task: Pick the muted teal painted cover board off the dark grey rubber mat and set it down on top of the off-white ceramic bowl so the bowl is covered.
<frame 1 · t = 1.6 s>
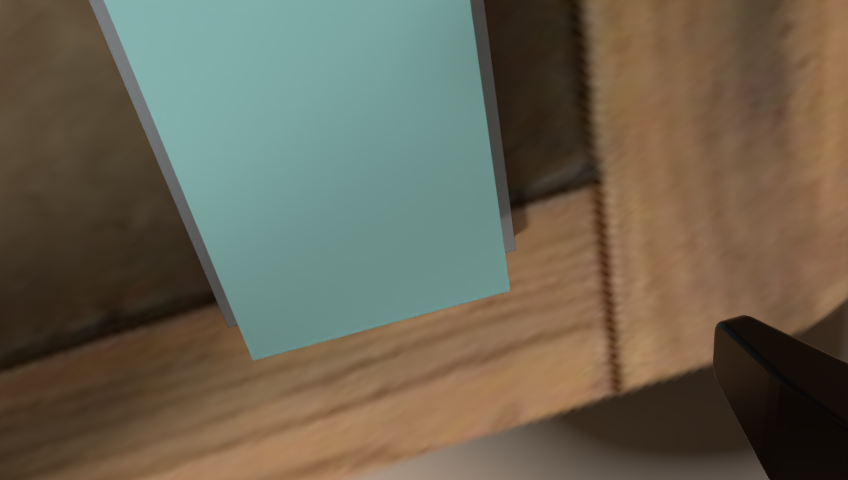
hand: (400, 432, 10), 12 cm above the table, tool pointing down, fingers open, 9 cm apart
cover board: (325, 109, 20), point 1 cm above the table, touching mat
mat: (323, 100, 20), on the table
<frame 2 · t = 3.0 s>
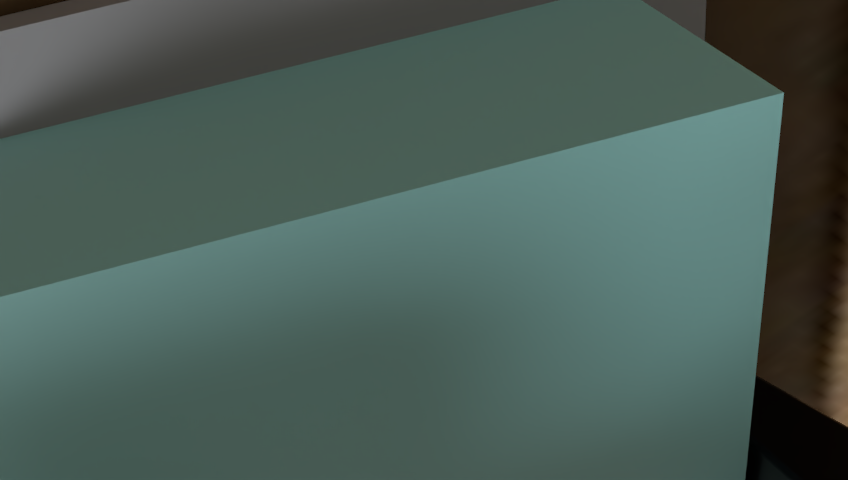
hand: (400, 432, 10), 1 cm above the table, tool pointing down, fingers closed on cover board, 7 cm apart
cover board: (392, 398, 11), point 1 cm above the table, touching gripper, mat
mat: (386, 369, 11), on the table
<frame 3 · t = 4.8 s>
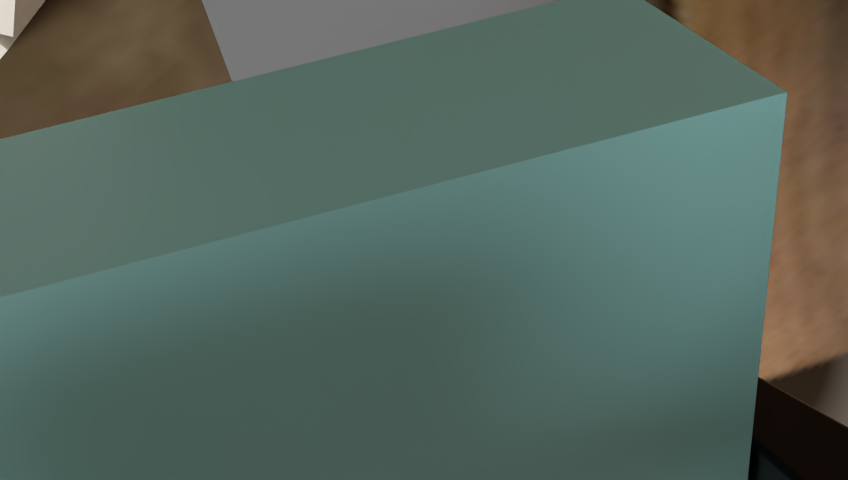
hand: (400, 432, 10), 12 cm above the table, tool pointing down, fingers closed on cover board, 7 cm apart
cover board: (395, 398, 11), point 11 cm above the table, touching gripper
mat: (430, 137, 21), on the table
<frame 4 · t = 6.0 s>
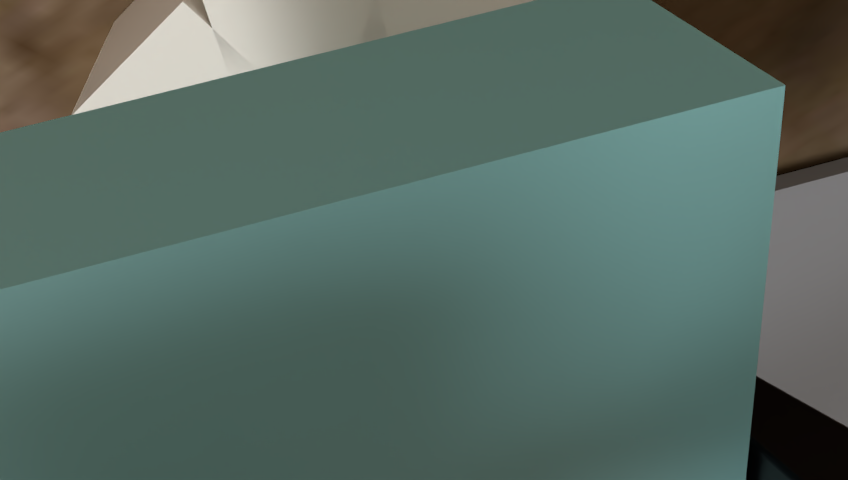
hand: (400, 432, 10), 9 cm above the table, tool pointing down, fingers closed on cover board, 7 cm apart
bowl: (338, 144, 17), on the table
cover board: (392, 396, 11), point 8 cm above the table, touching gripper
mat: (762, 340, 23), on the table
when the fingers open (6 cm above the table, at t = 6.9 s): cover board drops 1 cm, resting on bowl.
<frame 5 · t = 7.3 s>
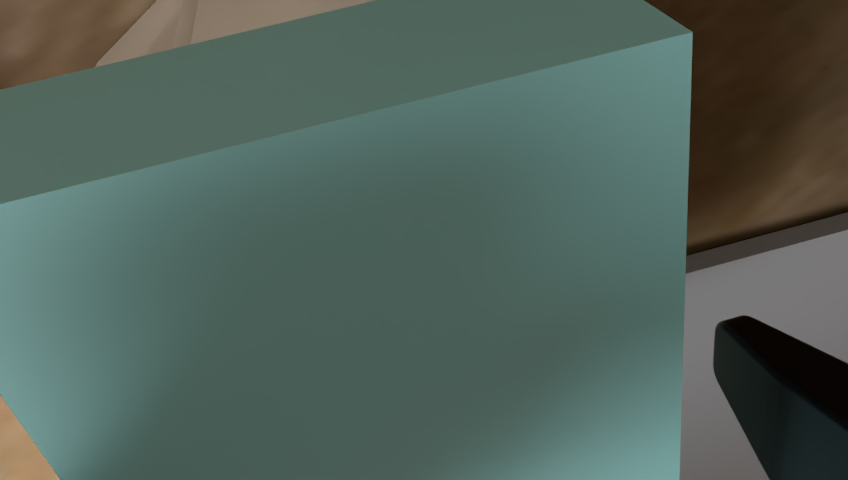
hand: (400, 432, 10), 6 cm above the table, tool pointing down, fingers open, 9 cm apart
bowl: (347, 192, 15), on the table
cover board: (375, 335, 12), point 4 cm above the table, touching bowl
mat: (801, 389, 22), on the table
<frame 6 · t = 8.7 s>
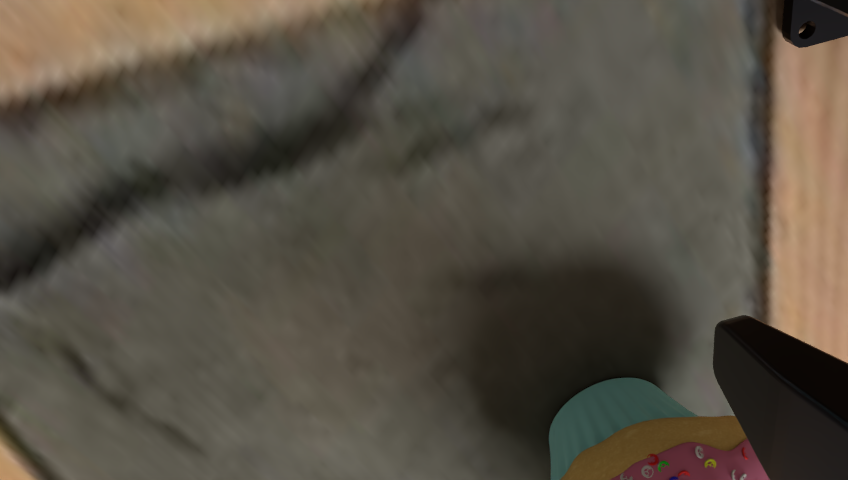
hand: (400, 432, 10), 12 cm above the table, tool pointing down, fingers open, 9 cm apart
cupcake: (608, 416, 30), on the table
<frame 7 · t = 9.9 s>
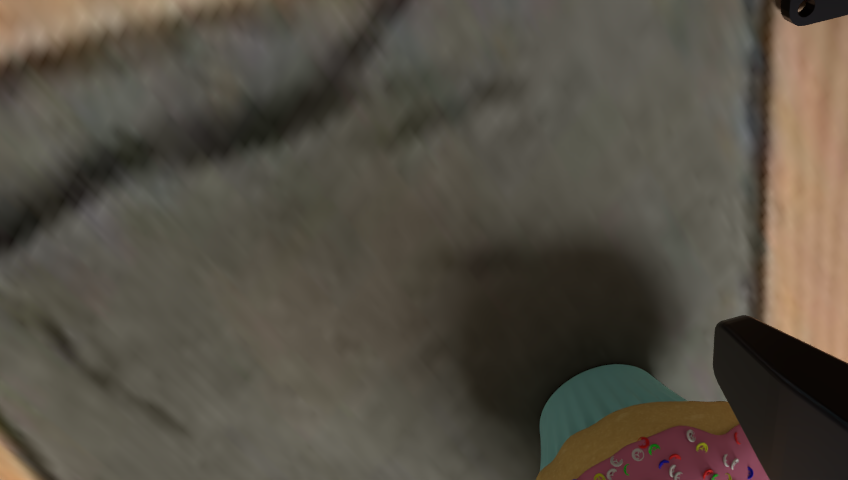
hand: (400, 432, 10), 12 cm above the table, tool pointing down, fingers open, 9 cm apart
cupcake: (599, 404, 29), on the table
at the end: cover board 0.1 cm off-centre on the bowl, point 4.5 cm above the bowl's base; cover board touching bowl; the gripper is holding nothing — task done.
